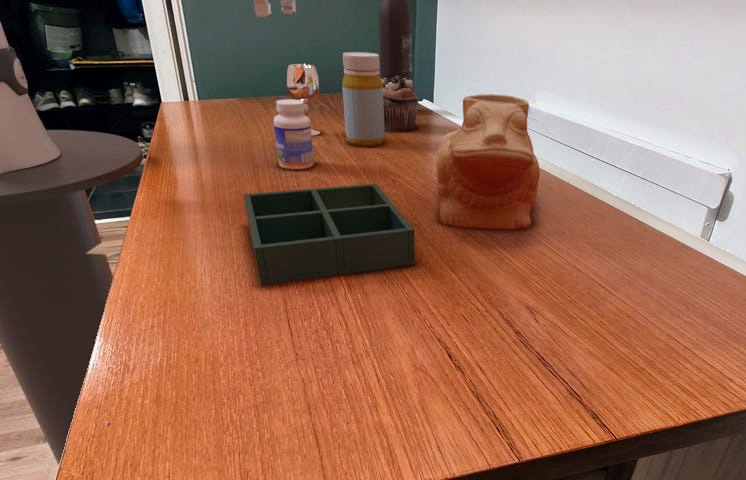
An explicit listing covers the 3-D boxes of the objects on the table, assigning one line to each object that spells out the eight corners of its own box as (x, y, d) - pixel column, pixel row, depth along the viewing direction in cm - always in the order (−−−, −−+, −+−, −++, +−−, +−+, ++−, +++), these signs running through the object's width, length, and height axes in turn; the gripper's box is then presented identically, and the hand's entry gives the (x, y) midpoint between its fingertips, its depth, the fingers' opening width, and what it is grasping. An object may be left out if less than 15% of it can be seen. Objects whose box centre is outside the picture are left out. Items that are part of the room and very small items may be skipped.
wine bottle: (406, 114, 124) (403, -41, 109) (377, 111, 125) (370, -43, 110) (416, 109, 130) (415, -40, 115) (388, 106, 131) (384, -41, 116)
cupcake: (428, 127, 115) (428, 76, 110) (397, 134, 108) (396, 80, 103) (393, 119, 119) (392, 70, 114) (362, 126, 112) (359, 74, 107)
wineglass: (329, 131, 107) (323, 65, 101) (314, 137, 102) (307, 68, 96) (302, 128, 108) (295, 62, 102) (287, 134, 103) (278, 66, 97)
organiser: (260, 286, 53) (254, 248, 51) (249, 227, 65) (243, 194, 63) (415, 264, 59) (414, 229, 57) (377, 214, 71) (376, 183, 69)
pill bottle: (277, 161, 88) (268, 98, 83) (311, 159, 90) (305, 97, 85) (281, 171, 84) (272, 105, 79) (317, 169, 86) (310, 104, 81)
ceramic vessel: (427, 240, 65) (428, 108, 57) (442, 174, 87) (444, 73, 79) (543, 246, 65) (559, 115, 57) (528, 179, 87) (539, 78, 80)
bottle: (391, 144, 102) (389, 56, 94) (358, 148, 97) (353, 57, 90) (372, 135, 106) (367, 51, 98) (339, 140, 102) (332, 52, 94)
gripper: (272, -91, 84) (284, 11, 91) (203, -111, 67) (224, 16, 74) (312, -88, 84) (320, 13, 91) (253, -109, 66) (270, 19, 74)
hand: (277, 15), depth 82 cm, fingers open, 8 cm apart
